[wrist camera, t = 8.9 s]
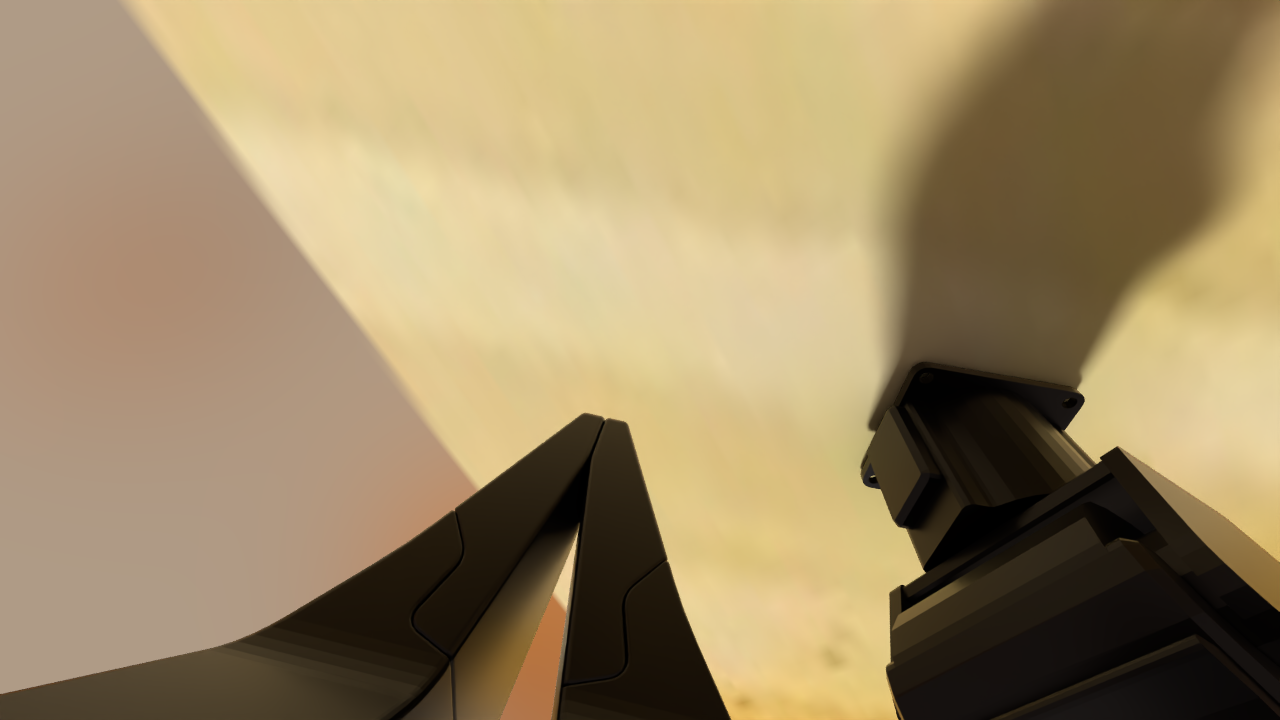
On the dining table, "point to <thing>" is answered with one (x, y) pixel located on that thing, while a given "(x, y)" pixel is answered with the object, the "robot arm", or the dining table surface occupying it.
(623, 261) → the dining table surface
